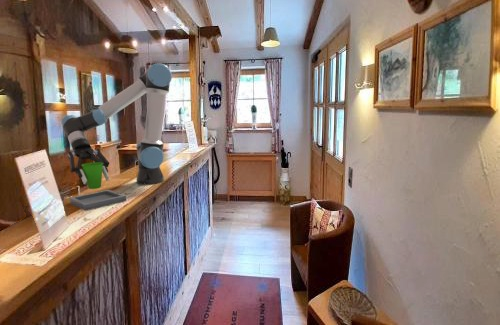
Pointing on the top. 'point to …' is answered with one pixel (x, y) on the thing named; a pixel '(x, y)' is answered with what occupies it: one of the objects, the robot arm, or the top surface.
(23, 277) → the top surface
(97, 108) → the robot arm
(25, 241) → the top surface
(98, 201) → the tray
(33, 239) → the top surface
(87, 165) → the cup
